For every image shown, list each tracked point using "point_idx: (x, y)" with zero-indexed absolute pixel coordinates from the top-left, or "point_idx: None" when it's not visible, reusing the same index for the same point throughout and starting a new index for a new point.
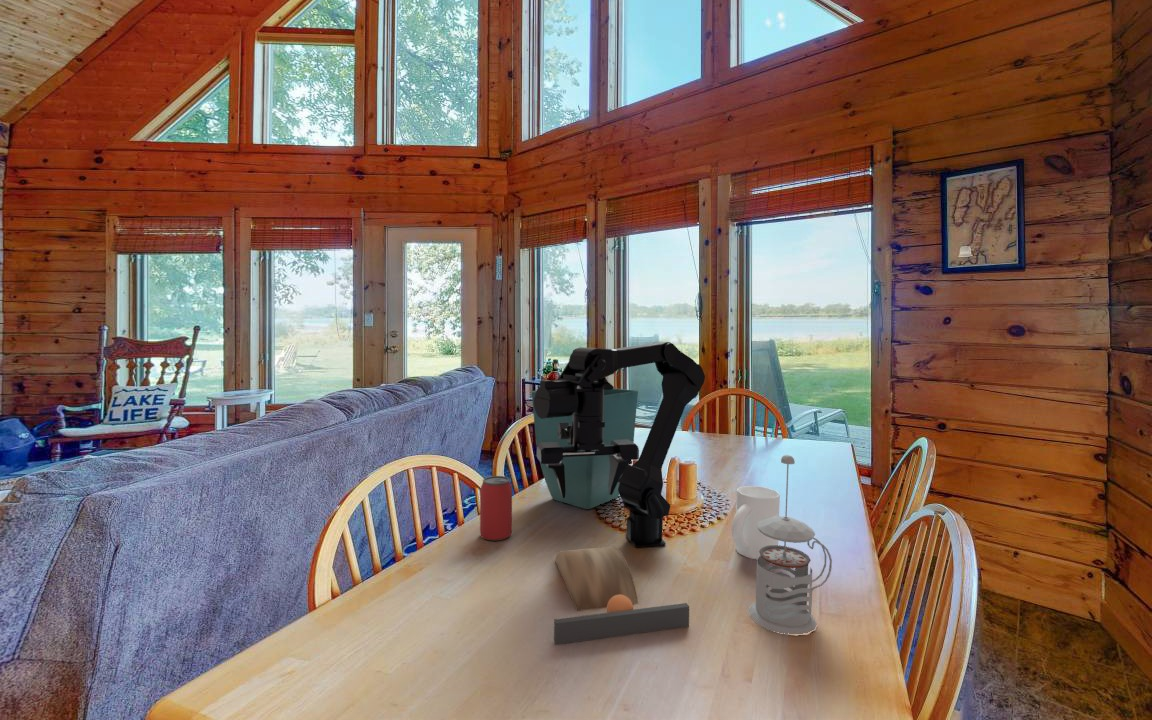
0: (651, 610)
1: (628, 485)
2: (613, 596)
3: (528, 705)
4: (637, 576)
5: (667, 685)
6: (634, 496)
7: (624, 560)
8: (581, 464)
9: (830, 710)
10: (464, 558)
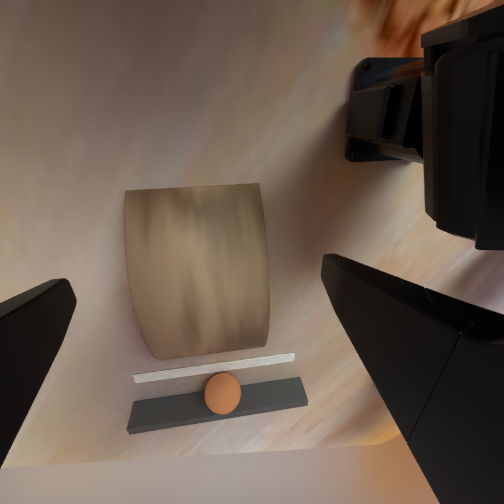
0: (258, 412)
1: (483, 176)
2: (214, 405)
3: (114, 458)
4: (290, 279)
5: (239, 438)
6: (443, 205)
7: (265, 331)
8: None
9: (341, 446)
10: None
